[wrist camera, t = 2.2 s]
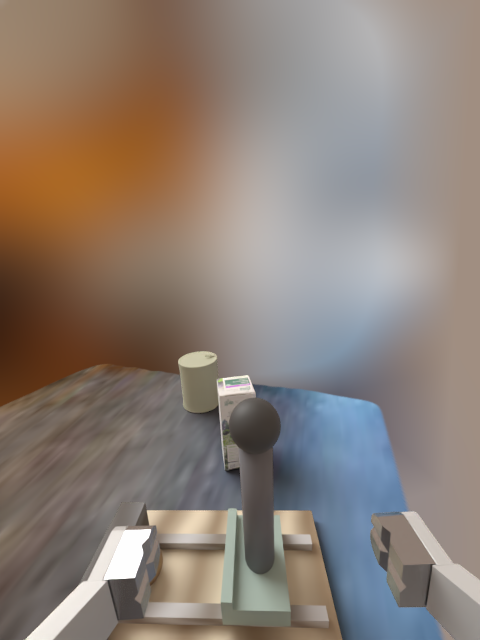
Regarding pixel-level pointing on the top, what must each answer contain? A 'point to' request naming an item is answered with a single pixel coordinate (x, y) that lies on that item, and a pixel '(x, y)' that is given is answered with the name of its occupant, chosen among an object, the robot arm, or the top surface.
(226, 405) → the syrup box
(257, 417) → the press handle
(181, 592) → the press frame
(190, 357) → the can
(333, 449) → the top surface
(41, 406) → the top surface
